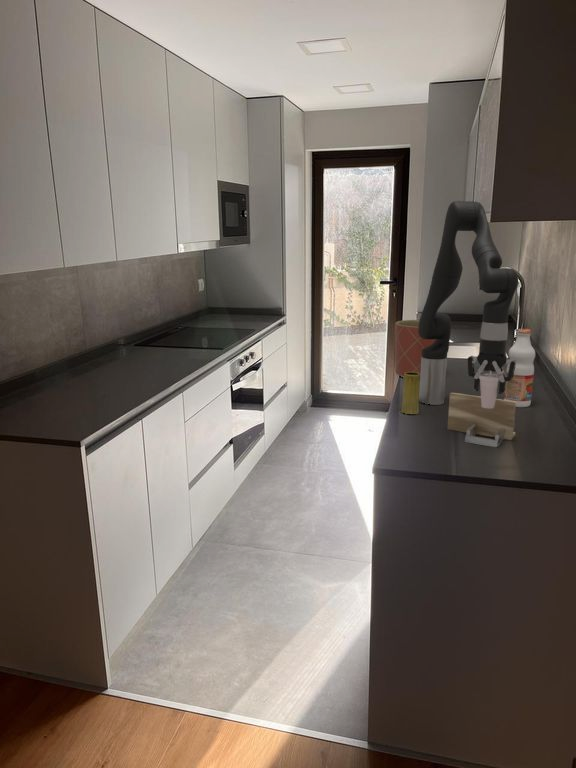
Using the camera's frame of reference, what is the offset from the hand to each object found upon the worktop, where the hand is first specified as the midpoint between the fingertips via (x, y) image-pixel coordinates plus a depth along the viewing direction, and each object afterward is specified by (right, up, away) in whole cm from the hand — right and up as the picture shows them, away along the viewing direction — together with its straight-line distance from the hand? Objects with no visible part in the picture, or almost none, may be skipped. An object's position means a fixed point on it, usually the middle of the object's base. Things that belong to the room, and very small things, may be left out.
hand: (489, 391), depth 178 cm
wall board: (+1, -13, +11) cm, 17 cm away
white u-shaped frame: (0, -15, +3) cm, 15 cm away
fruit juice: (+25, -5, +42) cm, 49 cm away
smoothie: (0, -5, +1) cm, 5 cm away
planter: (-2, +6, +87) cm, 87 cm away
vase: (-17, -8, +32) cm, 37 cm away
